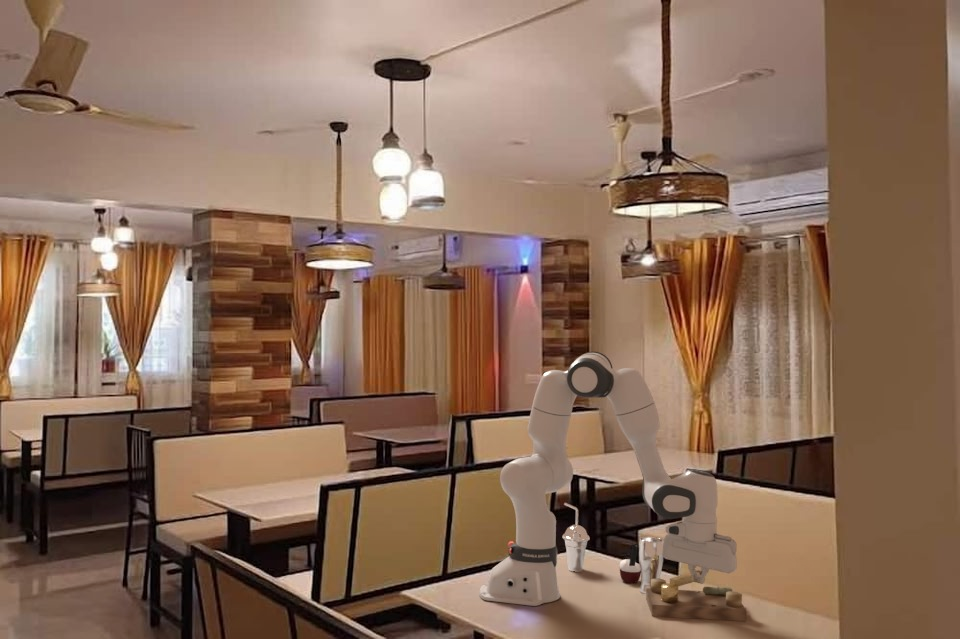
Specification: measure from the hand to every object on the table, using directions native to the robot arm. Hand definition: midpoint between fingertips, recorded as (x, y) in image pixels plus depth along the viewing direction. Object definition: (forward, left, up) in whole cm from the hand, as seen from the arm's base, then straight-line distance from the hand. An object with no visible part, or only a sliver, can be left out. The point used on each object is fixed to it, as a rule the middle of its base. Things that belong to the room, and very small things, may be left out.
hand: (698, 582), depth 220 cm
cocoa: (-16, +24, -8) cm, 29 cm away
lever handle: (-4, +2, -4) cm, 6 cm away
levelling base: (-1, +1, -8) cm, 8 cm away
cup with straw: (-32, +34, -8) cm, 47 cm away
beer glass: (-11, +15, -8) cm, 20 cm away
